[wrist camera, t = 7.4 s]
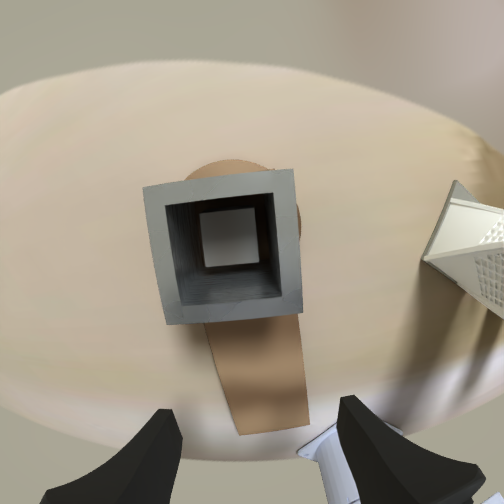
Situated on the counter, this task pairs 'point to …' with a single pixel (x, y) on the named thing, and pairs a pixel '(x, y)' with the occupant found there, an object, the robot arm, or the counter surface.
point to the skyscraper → (470, 247)
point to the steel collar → (227, 276)
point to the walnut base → (250, 330)
